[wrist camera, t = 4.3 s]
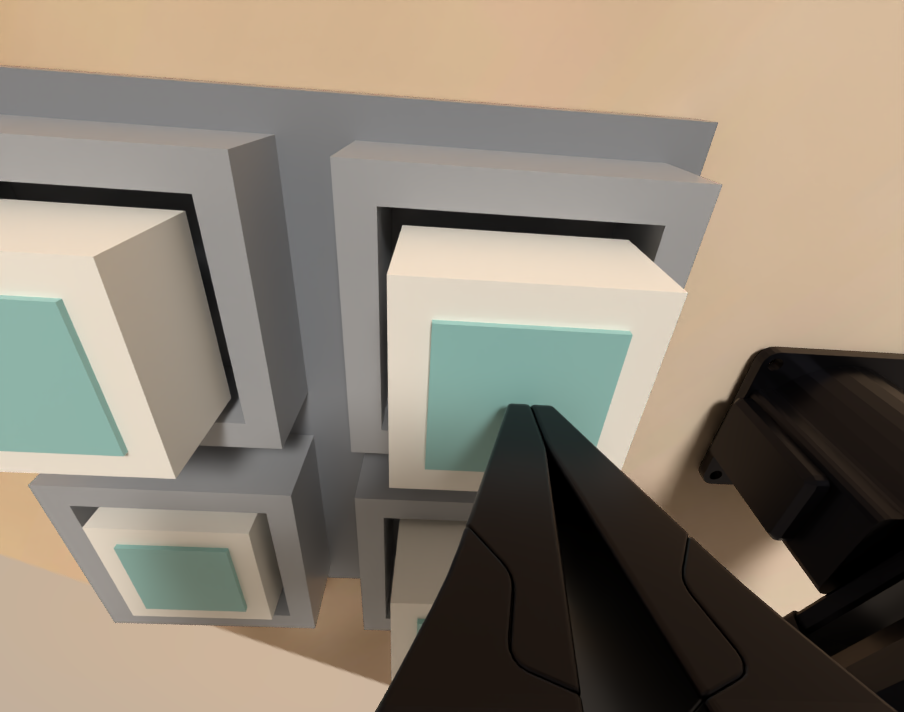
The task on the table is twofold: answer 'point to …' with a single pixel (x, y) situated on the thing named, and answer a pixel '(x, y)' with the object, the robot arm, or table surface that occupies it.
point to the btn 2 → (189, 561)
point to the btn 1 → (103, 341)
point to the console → (324, 276)
